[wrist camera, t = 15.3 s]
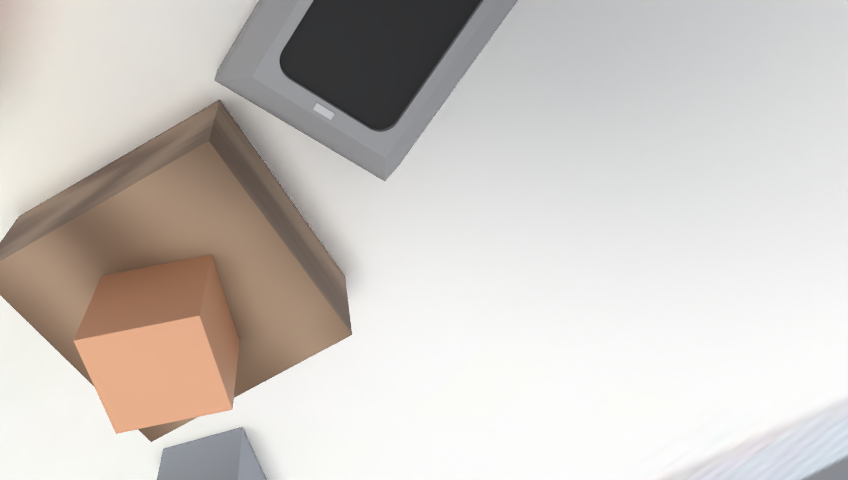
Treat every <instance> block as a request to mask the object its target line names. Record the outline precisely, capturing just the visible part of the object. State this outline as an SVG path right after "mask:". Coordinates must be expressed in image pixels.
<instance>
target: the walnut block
mask: <svg viewBox="0 0 848 480" xmlns="http://www.w3.org/2000/svg"><path fill="white" fill-rule="evenodd" d="M207 255H212V258H213V261H214V264H215V267H216V270H217V273H218V276H219V279H220V282H221V285H222V289H223V292H224V295H225V298H226V301H227V304H228V307H229V310H230V313H231V316H232V319H233V322H234V325H235V328H236V332H237V335H238V338H239V341H240V344H239V353H238V362H237V371H236V380H235V389H234V397H236V396H238V395H240V394H242V393H244V392H246V391H247V390H249V389H251V388H253V387H255V386H257V385H259V384H260V383H262V382H264V381H266V380H268V379H270V378H272V377H274V376H275V375H277V374H279V373H281V372H283V371H285V370H287V369H289V368H290V367H292V366H294V365H296V364H298V363H300V362H302V361H304V360H305V359H307V358H309V357H311V356H313V355H315V354H317V353H319V352H320V351H322V350H324V349H326V348H328V347H330V346H332V345H334V344H335V343H337V342H339V341H341V340H343V339H345V338H347V337H348V336H350V335H352V331H351V323H350V315H349V306H348V298H347V290H346V282H345V276H344V275H343V273H342V272H341V271H340V269H339V268H338V266H337V265H336V264H335V262H334V261H333V259H332V258H331V256H330V255H329V254H328V252H327V251H326V249H325V248H324V247H323V245H322V244H321V242H320V241H319V240H318V238H317V237H316V235H315V234H314V232H313V231H312V230H311V228H310V227H309V225H308V224H307V223H306V221H305V220H304V218H303V217H302V215H301V214H300V213H299V211H298V210H297V208H296V207H295V206H294V204H293V203H292V201H291V200H290V198H289V197H288V196H287V194H286V193H285V191H284V190H283V189H282V187H281V186H280V184H279V183H278V182H277V180H276V179H275V177H274V176H273V174H272V173H271V172H270V170H269V169H268V167H267V166H266V165H265V163H264V162H263V160H262V159H261V157H260V156H259V155H258V153H257V152H256V150H255V149H254V148H253V146H252V145H251V143H250V142H249V140H248V139H247V138H246V136H245V135H244V133H243V132H242V131H241V129H240V128H239V126H238V125H237V124H236V122H235V121H234V119H233V118H232V116H231V115H230V114H229V112H228V111H227V109H226V108H225V107H224V105H223V104H222V102H221V101H220V100H218V101H217V102H215V103H213V104H212V105H210V106H208V107H206V108H205V109H203V110H201V111H200V112H198V113H196V114H194V115H193V116H191V117H189V118H188V119H186V120H184V121H182V122H181V123H179V124H177V125H175V126H174V127H172V128H170V129H169V130H167V131H165V132H163V133H162V134H160V135H158V136H157V137H155V138H153V139H151V140H150V141H148V142H146V143H145V144H143V145H141V146H139V147H138V148H136V149H134V150H133V151H131V152H129V153H127V154H126V155H124V156H122V157H121V158H119V159H117V160H115V161H114V162H112V163H110V164H108V165H107V166H105V167H103V168H102V169H100V170H98V171H96V172H95V173H93V174H91V175H90V176H88V177H86V178H84V179H83V180H81V181H79V182H78V183H76V184H74V185H72V186H71V187H69V188H67V189H66V190H64V191H62V192H60V193H59V194H57V195H55V196H53V197H52V198H50V199H48V200H47V201H45V202H43V203H41V204H40V205H38V206H36V207H35V208H33V209H31V210H29V211H28V212H26V213H24V214H23V215H21V216H19V217H18V219H17V220H16V221H15V223H14V224H13V226H12V227H11V228H10V230H9V231H8V233H7V234H6V236H5V237H4V238H3V240H2V241H1V243H0V295H1V296H2V297H3V298H4V299H5V300H6V301H7V302H8V303H9V304H10V305H11V306H12V307H13V308H14V309H15V310H16V311H17V312H18V313H19V314H20V315H21V316H22V317H23V318H24V319H25V320H26V321H27V322H29V323H30V324H31V325H32V326H33V327H34V328H35V329H36V330H37V331H38V332H39V333H40V334H41V335H42V336H43V337H44V338H45V339H46V340H47V341H48V342H49V343H50V344H51V345H52V346H53V347H54V348H55V349H56V350H57V351H58V352H59V353H60V354H61V355H62V356H63V357H64V358H65V359H66V360H68V361H69V362H70V363H71V364H72V365H73V366H74V367H75V368H76V369H77V370H78V371H79V372H80V373H81V374H82V375H83V376H84V377H85V378H86V379H87V380H88V381H89V382H90V383H91V384H92V385H93V386H94V384H93V382H92V380H91V378H90V376H89V374H88V371H87V369H86V367H85V365H84V363H83V361H82V358H81V356H80V354H79V352H78V350H77V347H76V345H75V343H74V338H75V336H76V334H77V331H78V329H79V327H80V324H81V322H82V320H83V318H84V315H85V313H86V311H87V308H88V306H89V304H90V301H91V299H92V297H93V295H94V292H95V290H96V288H97V285H98V283H99V281H100V278H101V276H104V275H109V274H115V273H120V272H125V271H130V270H135V269H140V268H145V267H150V266H156V265H161V264H166V263H171V262H176V261H181V260H186V259H191V258H197V257H202V256H207ZM195 418H197V417H194V418H189V419H184V420H180V421H175V422H170V423H165V424H160V425H155V426H151V427H146V428H141V429H138V430H139V431H140V432H141V433H142V434H144V435H145V436H146V437H147V438H148V439H149V440H150V441H151V442H152V441H154V440H156V439H158V438H159V437H161V436H163V435H165V434H167V433H169V432H171V431H173V430H174V429H176V428H178V427H180V426H182V425H184V424H186V423H187V422H189V421H191V420H193V419H195Z"/></svg>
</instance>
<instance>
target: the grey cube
mask: <svg viewBox="0 0 848 480" xmlns="http://www.w3.org/2000/svg"><path fill="white" fill-rule="evenodd" d="M157 480H267V479H266V477H265V475H264V473H263V471H262V468H261V466H260V464H259V462H258V460H257V458H256V455H255V453H254V451H253V449H252V447H251V445H250V442H249V440H248V438H247V436H246V434H245V432H244V429H243V427H241V428H237V429H233V430H230V431H226V432H222V433H219V434H215V435H212V436H208V437H204V438H201V439H197V440H194V441H190V442H186V443H183V444H179V445H176V446H172V447H168V448H165V449H163V454H162V458H161V463H160V468H159V472H158V477H157Z"/></svg>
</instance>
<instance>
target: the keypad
mask: <svg viewBox="0 0 848 480" xmlns="http://www.w3.org/2000/svg"><path fill="white" fill-rule="evenodd" d="M516 2H517V0H259V2H258V4H257V5H256V7H255V9H254V10H253V12H252V14H251V15H250V17H249V19H248V20H247V22H246V24H245V25H244V27H243V29H242V30H241V32H240V34H239V35H238V37H237V39H236V40H235V42H234V44H233V45H232V47H231V49H230V50H229V52H228V54H227V55H226V57H225V59H224V60H223V62H222V64H221V65H220V67H219V69H218V70H217V74H216V77H215V81H217V82H218V83H220V84H222V85H223V86H225V87H227V88H228V89H230V90H232V91H234V92H235V93H237V94H239V95H240V96H242V97H244V98H245V99H247V100H249V101H250V102H252V103H254V104H255V105H257V106H259V107H261V108H262V109H264V110H266V111H267V112H269V113H271V114H272V115H274V116H276V117H277V118H279V119H281V120H282V121H284V122H286V123H287V124H289V125H291V126H293V127H294V128H296V129H298V130H299V131H301V132H303V133H304V134H306V135H308V136H309V137H311V138H313V139H314V140H316V141H318V142H320V143H321V144H323V145H325V146H326V147H328V148H330V149H331V150H333V151H335V152H336V153H338V154H340V155H341V156H343V157H345V158H347V159H348V160H350V161H352V162H353V163H355V164H357V165H358V166H360V167H362V168H363V169H365V170H367V171H368V172H370V173H372V174H374V175H375V176H377V177H379V178H380V179H382V180H384V181H386V179H387V178H388V177H389V176H390V175H391V174H392V172H393V171H394V170H395V169H396V168H397V167H398V165H399V164H400V163H401V161H402V160H403V159H404V157H405V156H406V154H407V153H408V152H409V150H410V149H411V147H412V146H413V145H414V143H415V142H416V141H417V139H418V138H419V136H420V135H421V134H422V132H423V131H424V129H425V128H426V127H427V125H428V124H429V122H430V121H431V120H432V118H433V117H434V116H435V114H436V113H437V111H438V110H439V109H440V107H441V106H442V104H443V103H444V102H445V100H446V99H447V98H448V96H449V95H450V93H451V92H452V91H453V89H454V88H455V86H456V85H457V84H458V82H459V81H460V79H461V78H462V77H463V75H464V74H465V73H466V71H467V70H468V68H469V67H470V66H471V64H472V63H473V61H474V60H475V59H476V57H477V56H478V54H479V53H480V52H481V50H482V49H483V48H484V46H485V45H486V43H487V42H488V41H489V39H490V38H491V36H492V35H493V34H494V32H495V31H496V30H497V28H498V27H499V25H500V24H501V23H502V21H503V20H504V18H505V17H506V16H507V14H508V13H509V11H510V10H511V9H512V7H513V6H514V5H515V3H516Z"/></svg>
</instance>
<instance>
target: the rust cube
mask: <svg viewBox="0 0 848 480" xmlns="http://www.w3.org/2000/svg"><path fill="white" fill-rule="evenodd" d="M74 343H75V345H76V347H77V350H78V352H79V354H80V356H81V358H82V361H83V363H84V365H85V367H86V369H87V371H88V374H89V376H90V378H91V380H92V382H93V384H94V387H95V389H96V391H97V393H98V395H99V397H100V400H101V402H102V404H103V406H104V408H105V411H106V413H107V415H108V417H109V419H110V421H111V424H112V426H113V428H114V430H115V432H116V434H117V433H122V432H127V431H131V430H136V429H141V428H146V427H151V426H155V425H160V424H165V423H170V422H175V421H180V420H184V419H189V418H194V417H199V416H204V415H208V414H213V413H218V412H223V411H228V410H232V408H233V399H234V389H235V380H236V371H237V362H238V353H239V344H240V341H239V338H238V335H237V332H236V328H235V325H234V322H233V319H232V316H231V313H230V310H229V307H228V304H227V301H226V298H225V295H224V292H223V289H222V285H221V282H220V279H219V276H218V273H217V270H216V267H215V264H214V261H213V258H212V255H207V256H202V257H197V258H191V259H186V260H181V261H176V262H171V263H166V264H161V265H156V266H150V267H145V268H140V269H135V270H130V271H125V272H120V273H115V274H109V275H104V276H101V278H100V281H99V283H98V285H97V288H96V290H95V292H94V295H93V297H92V299H91V301H90V304H89V306H88V308H87V311H86V313H85V315H84V318H83V320H82V322H81V324H80V327H79V329H78V331H77V334H76V336H75V338H74Z"/></svg>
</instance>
